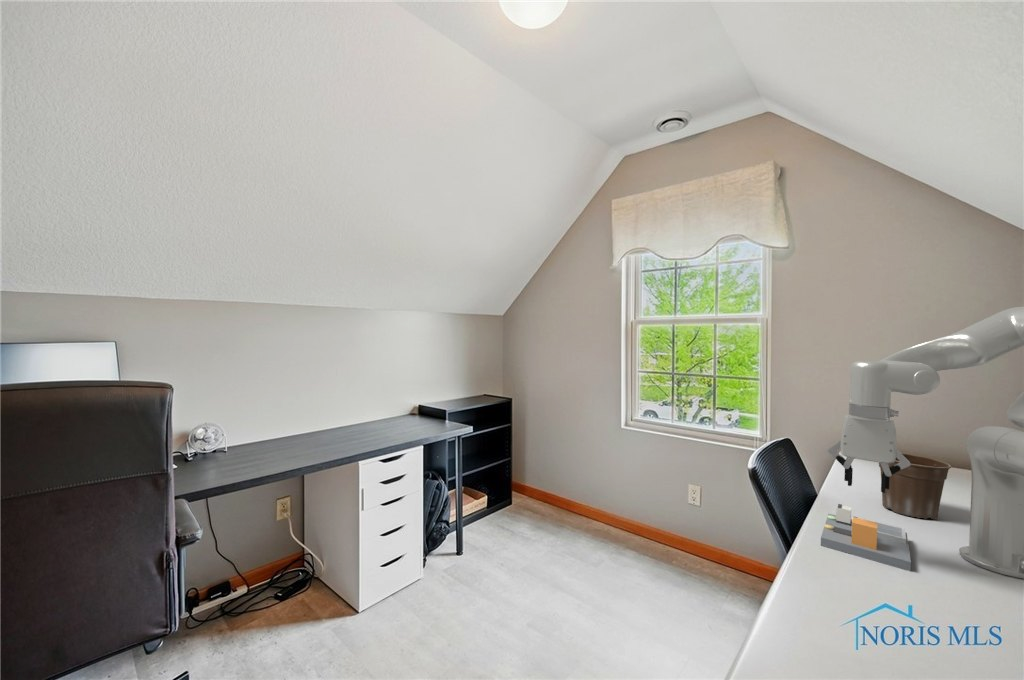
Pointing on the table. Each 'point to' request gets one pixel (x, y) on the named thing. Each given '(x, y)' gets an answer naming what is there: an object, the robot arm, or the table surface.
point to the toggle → (843, 513)
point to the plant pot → (916, 487)
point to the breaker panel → (888, 548)
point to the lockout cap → (864, 533)
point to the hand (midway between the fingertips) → (866, 487)
